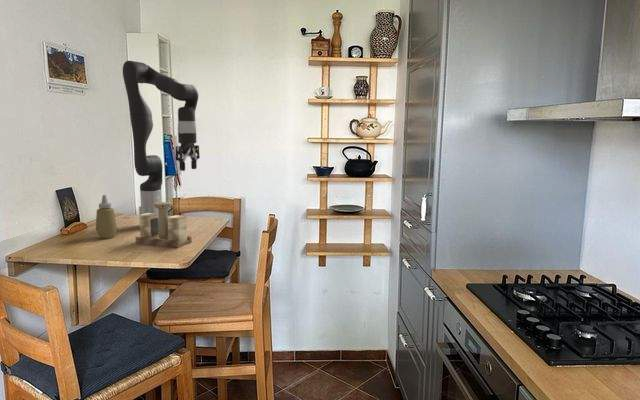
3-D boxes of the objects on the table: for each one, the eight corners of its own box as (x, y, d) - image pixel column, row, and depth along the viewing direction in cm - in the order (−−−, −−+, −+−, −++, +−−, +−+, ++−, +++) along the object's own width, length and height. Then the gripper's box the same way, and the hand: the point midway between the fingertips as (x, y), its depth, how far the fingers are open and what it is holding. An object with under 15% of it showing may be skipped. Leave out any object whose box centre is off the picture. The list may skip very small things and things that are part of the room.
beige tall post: (172, 240, 176) (171, 203, 174) (155, 241, 174) (154, 204, 172) (172, 237, 181) (170, 201, 178) (155, 238, 178) (154, 202, 176)
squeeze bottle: (121, 236, 186) (119, 194, 184) (105, 240, 179) (102, 197, 176) (108, 234, 190) (105, 193, 187) (91, 238, 183) (88, 195, 180)
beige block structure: (135, 242, 176) (134, 215, 174) (150, 237, 185) (149, 211, 183) (178, 247, 170) (177, 219, 168) (191, 242, 179) (190, 215, 177)
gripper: (189, 131, 195) (190, 168, 198) (169, 132, 181) (170, 170, 184) (203, 132, 193) (204, 168, 195) (184, 132, 179) (186, 171, 182)
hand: (188, 169), depth 190 cm, fingers open, 8 cm apart
